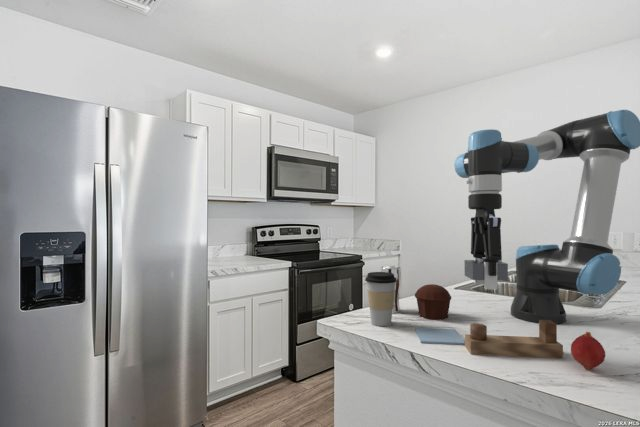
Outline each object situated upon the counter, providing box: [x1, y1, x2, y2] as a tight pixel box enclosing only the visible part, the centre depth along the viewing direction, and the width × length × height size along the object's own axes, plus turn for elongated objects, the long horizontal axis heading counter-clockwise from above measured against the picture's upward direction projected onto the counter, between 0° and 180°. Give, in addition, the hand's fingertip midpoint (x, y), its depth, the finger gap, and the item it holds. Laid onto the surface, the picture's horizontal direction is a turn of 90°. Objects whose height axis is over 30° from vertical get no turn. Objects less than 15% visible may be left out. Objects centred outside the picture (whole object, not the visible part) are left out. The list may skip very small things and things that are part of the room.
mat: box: [414, 327, 465, 346], centre depth 95 cm, size 11×11×1 cm
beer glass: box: [380, 265, 402, 314], centre depth 121 cm, size 7×7×15 cm
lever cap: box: [464, 258, 509, 281], centre depth 87 cm, size 8×6×5 cm
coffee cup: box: [364, 271, 396, 327], centre depth 107 cm, size 9×9×15 cm
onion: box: [570, 331, 606, 371], centre depth 74 cm, size 6×6×8 cm
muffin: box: [414, 283, 453, 321], centre depth 114 cm, size 12×11×10 cm
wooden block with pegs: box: [464, 320, 564, 359], centre depth 84 cm, size 20×5×8 cm, turn 82°
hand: (485, 286), depth 87 cm, fingers closed on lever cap, 6 cm apart
